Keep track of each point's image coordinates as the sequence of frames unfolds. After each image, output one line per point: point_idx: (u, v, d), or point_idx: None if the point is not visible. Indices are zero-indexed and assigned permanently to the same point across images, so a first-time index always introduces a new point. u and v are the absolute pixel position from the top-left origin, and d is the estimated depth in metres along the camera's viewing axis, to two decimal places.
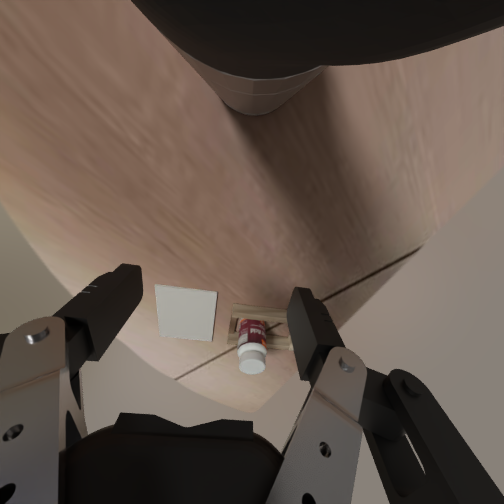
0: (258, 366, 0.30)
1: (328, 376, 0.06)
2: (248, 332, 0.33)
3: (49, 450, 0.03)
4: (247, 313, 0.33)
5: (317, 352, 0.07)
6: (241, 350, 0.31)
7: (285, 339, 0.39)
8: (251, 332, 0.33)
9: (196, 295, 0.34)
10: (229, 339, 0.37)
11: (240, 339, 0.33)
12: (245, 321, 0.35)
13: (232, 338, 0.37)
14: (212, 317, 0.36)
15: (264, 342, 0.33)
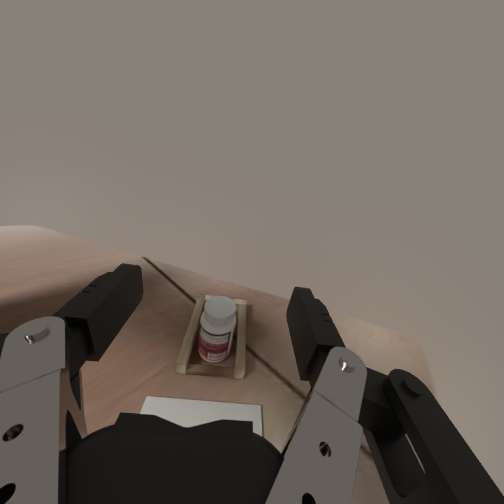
0: (218, 300, 0.26)
1: (328, 376, 0.06)
2: (199, 333, 0.27)
3: (49, 450, 0.03)
4: (181, 346, 0.27)
5: (317, 352, 0.07)
6: (210, 327, 0.25)
7: (238, 312, 0.36)
8: None
9: None
10: (235, 367, 0.26)
11: (207, 339, 0.25)
12: (200, 349, 0.27)
13: (235, 364, 0.26)
14: (200, 403, 0.23)
15: None
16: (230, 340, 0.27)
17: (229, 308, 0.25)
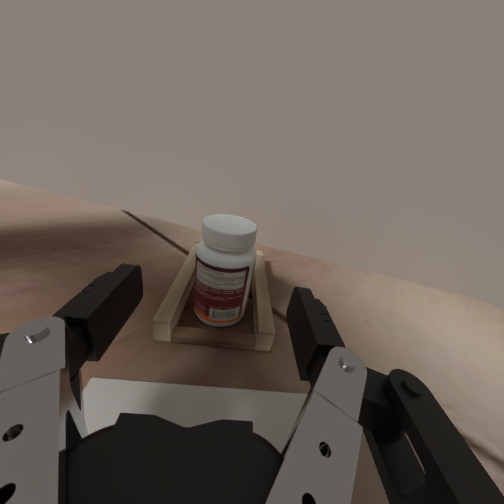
0: (226, 218, 0.16)
1: (328, 376, 0.06)
2: (195, 276, 0.16)
3: (49, 450, 0.03)
4: (164, 298, 0.16)
5: (317, 352, 0.07)
6: (213, 256, 0.14)
7: None
8: (195, 271, 0.16)
9: None
10: (258, 329, 0.15)
11: (208, 280, 0.14)
12: (197, 304, 0.16)
13: (257, 327, 0.15)
14: (197, 390, 0.12)
15: None
16: (247, 287, 0.16)
17: (246, 226, 0.15)
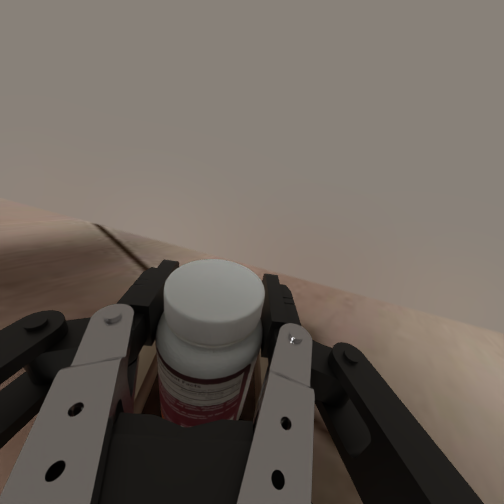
0: (211, 270, 0.09)
1: (281, 353, 0.07)
2: None
3: (96, 439, 0.04)
4: None
5: (272, 329, 0.08)
6: (182, 355, 0.07)
7: None
8: None
9: None
10: None
11: (175, 390, 0.08)
12: (162, 409, 0.10)
13: None
14: None
15: None
16: (247, 386, 0.09)
17: (246, 291, 0.08)
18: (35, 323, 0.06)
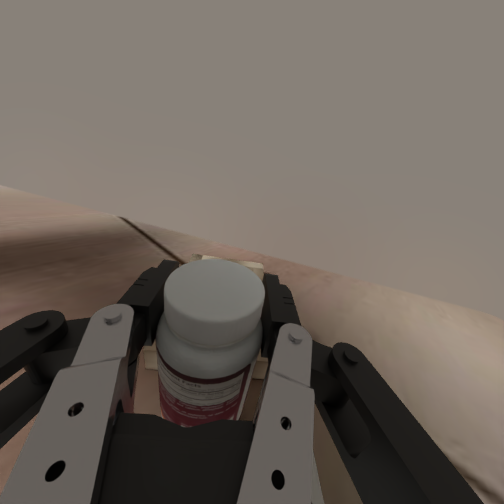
0: (211, 270, 0.09)
1: (281, 353, 0.06)
2: None
3: (96, 439, 0.04)
4: None
5: (272, 329, 0.08)
6: (182, 355, 0.07)
7: None
8: None
9: None
10: None
11: (175, 389, 0.08)
12: (162, 409, 0.10)
13: None
14: None
15: None
16: (247, 386, 0.09)
17: (246, 291, 0.08)
18: (35, 323, 0.06)
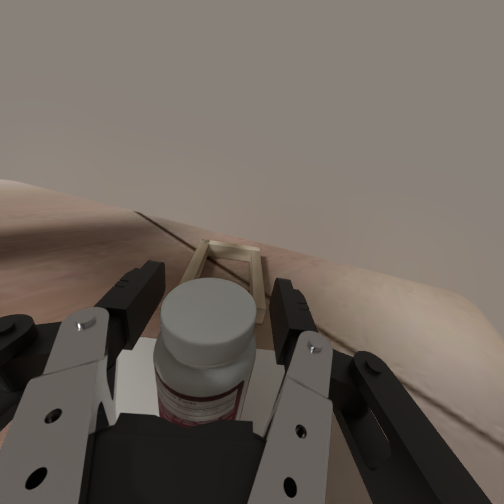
0: (205, 290, 0.09)
1: (299, 360, 0.06)
2: None
3: (79, 441, 0.04)
4: (180, 282, 0.20)
5: (290, 336, 0.08)
6: (178, 374, 0.08)
7: (250, 260, 0.29)
8: None
9: (122, 381, 0.13)
10: None
11: (172, 406, 0.08)
12: None
13: None
14: None
15: None
16: (242, 400, 0.10)
17: (238, 311, 0.08)
18: (0, 327, 0.06)
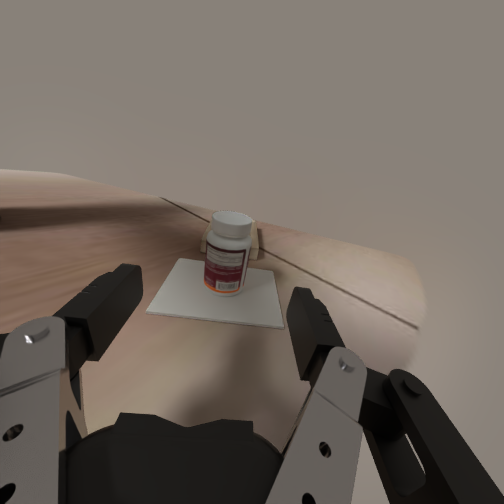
0: (229, 213, 0.21)
1: (328, 376, 0.06)
2: (206, 257, 0.21)
3: (49, 450, 0.03)
4: (204, 234, 0.32)
5: (317, 352, 0.07)
6: (220, 241, 0.19)
7: None
8: None
9: (180, 272, 0.24)
10: (251, 247, 0.30)
11: (216, 259, 0.20)
12: (206, 278, 0.22)
13: None
14: None
15: None
16: (244, 266, 0.21)
17: (244, 219, 0.20)
18: None
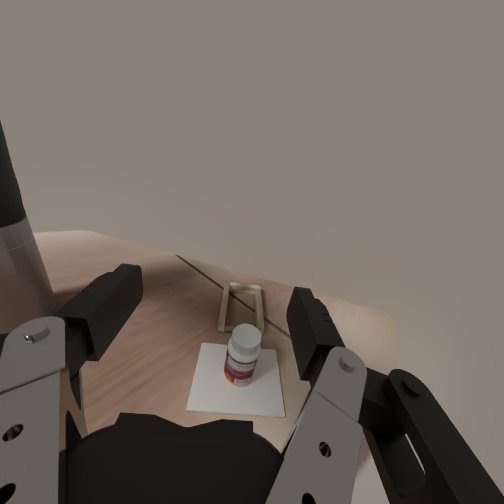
0: (244, 329, 0.28)
1: (328, 376, 0.06)
2: (226, 360, 0.28)
3: (49, 450, 0.03)
4: None
5: (317, 352, 0.07)
6: (238, 356, 0.26)
7: (254, 294, 0.48)
8: (226, 356, 0.29)
9: (204, 361, 0.32)
10: (257, 327, 0.38)
11: (235, 366, 0.27)
12: (227, 374, 0.29)
13: (257, 325, 0.38)
14: None
15: None
16: (255, 366, 0.28)
17: (255, 337, 0.27)
18: None
